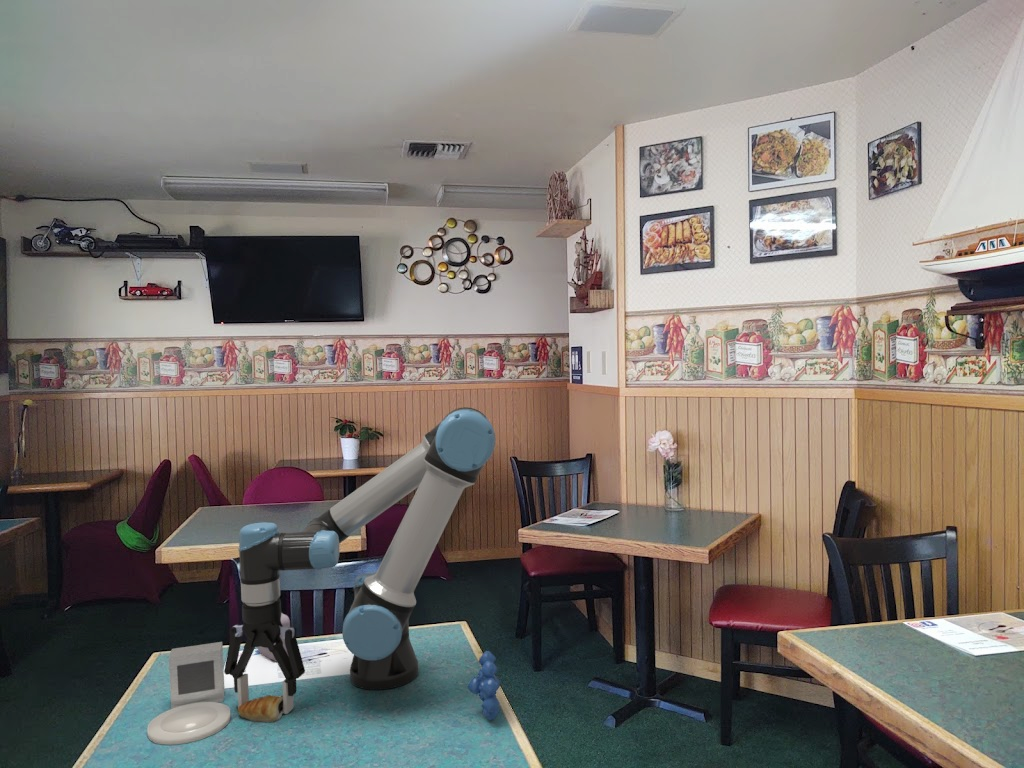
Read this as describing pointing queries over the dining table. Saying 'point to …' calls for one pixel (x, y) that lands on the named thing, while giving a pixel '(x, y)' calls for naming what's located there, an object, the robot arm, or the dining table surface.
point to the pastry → (262, 709)
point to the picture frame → (196, 674)
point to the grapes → (487, 685)
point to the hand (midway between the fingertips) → (266, 709)
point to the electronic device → (285, 623)
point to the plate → (188, 723)
